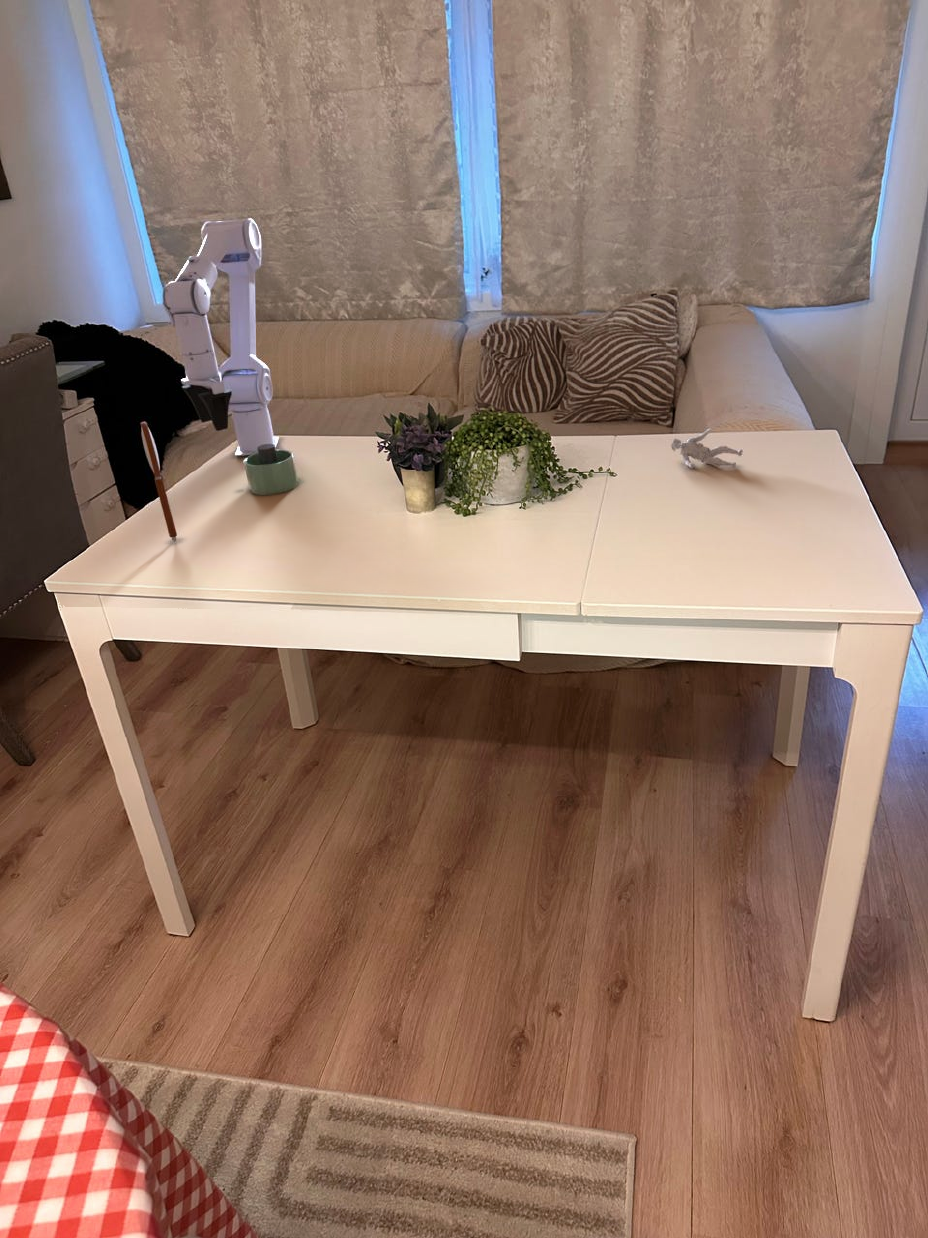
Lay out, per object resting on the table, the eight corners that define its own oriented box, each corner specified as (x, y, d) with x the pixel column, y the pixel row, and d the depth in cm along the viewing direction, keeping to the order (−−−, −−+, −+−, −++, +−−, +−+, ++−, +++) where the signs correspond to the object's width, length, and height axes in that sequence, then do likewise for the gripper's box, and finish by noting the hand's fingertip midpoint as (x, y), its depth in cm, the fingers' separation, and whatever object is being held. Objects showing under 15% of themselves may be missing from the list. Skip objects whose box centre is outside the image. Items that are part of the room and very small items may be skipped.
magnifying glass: (183, 549, 147) (151, 428, 137) (172, 552, 146) (140, 430, 136) (177, 531, 154) (146, 414, 144) (166, 533, 153) (135, 416, 143)
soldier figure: (726, 480, 155) (661, 453, 158) (725, 490, 159) (662, 463, 163) (747, 440, 155) (682, 414, 159) (745, 451, 160) (682, 425, 163)
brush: (265, 481, 170) (258, 444, 167) (282, 479, 170) (275, 442, 167) (263, 487, 167) (256, 450, 164) (281, 485, 167) (273, 448, 164)
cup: (253, 480, 173) (247, 452, 170) (299, 475, 173) (294, 447, 170) (247, 497, 165) (240, 468, 162) (295, 491, 165) (290, 462, 163)
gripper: (163, 350, 167) (180, 422, 174) (190, 361, 156) (207, 438, 163) (200, 342, 170) (215, 413, 177) (228, 353, 160) (244, 428, 166)
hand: (214, 425), depth 170 cm, fingers open, 7 cm apart
